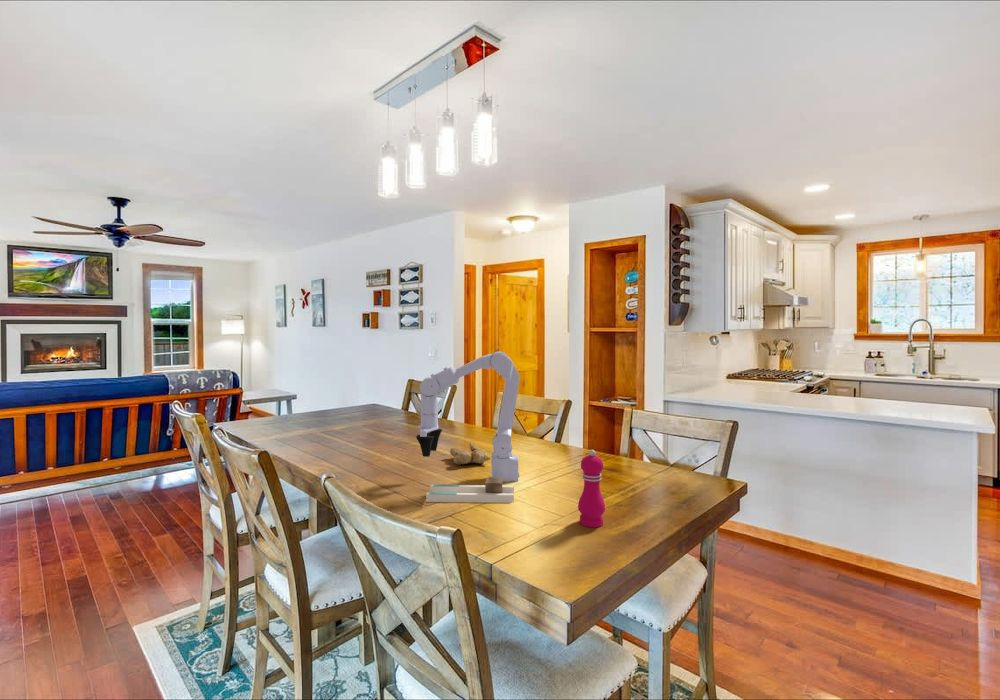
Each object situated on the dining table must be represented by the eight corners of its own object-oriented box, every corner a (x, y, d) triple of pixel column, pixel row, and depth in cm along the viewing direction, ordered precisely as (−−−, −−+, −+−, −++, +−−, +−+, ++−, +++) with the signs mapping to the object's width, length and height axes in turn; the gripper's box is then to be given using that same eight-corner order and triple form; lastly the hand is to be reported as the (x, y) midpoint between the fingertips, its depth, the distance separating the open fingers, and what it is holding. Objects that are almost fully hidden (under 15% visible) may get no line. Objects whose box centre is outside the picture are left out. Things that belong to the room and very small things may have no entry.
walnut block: (502, 493, 156) (502, 478, 156) (502, 499, 151) (502, 483, 151) (486, 493, 156) (486, 477, 156) (485, 499, 151) (485, 483, 151)
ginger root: (490, 465, 186) (485, 444, 186) (449, 475, 186) (444, 454, 186) (492, 456, 201) (487, 436, 201) (454, 465, 202) (449, 445, 202)
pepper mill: (586, 515, 141) (587, 445, 140) (609, 522, 137) (610, 449, 135) (572, 523, 136) (573, 450, 134) (596, 530, 131) (597, 454, 130)
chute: (513, 494, 159) (513, 484, 158) (513, 505, 149) (513, 495, 148) (431, 493, 159) (431, 483, 159) (425, 504, 149) (425, 494, 149)
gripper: (424, 409, 177) (424, 447, 178) (410, 417, 163) (411, 458, 163) (443, 409, 176) (444, 448, 177) (431, 417, 162) (432, 459, 162)
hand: (429, 453), depth 170 cm, fingers open, 7 cm apart
